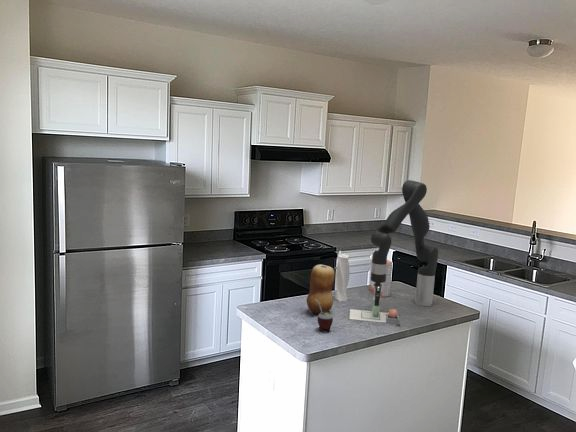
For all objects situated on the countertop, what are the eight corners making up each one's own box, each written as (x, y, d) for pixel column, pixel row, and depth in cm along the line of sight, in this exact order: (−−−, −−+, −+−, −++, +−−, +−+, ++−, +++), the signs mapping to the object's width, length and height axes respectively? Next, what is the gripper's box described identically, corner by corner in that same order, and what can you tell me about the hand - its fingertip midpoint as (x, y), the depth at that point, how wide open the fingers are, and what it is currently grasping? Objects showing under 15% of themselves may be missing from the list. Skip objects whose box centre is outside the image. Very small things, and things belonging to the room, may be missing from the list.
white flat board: (349, 310, 250) (349, 303, 250) (397, 314, 246) (397, 308, 246) (348, 320, 234) (348, 314, 234) (399, 326, 231) (400, 319, 230)
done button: (388, 314, 236) (388, 308, 235) (396, 315, 235) (397, 309, 235) (388, 317, 232) (389, 311, 232) (397, 317, 231) (397, 312, 231)
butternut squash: (330, 319, 235) (333, 270, 232) (303, 316, 238) (306, 267, 234) (333, 310, 249) (336, 263, 245) (308, 307, 251) (311, 261, 248)
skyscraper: (331, 299, 266) (334, 250, 262) (342, 298, 270) (345, 249, 265) (338, 303, 259) (341, 253, 255) (350, 302, 262) (353, 253, 258)
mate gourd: (335, 330, 222) (337, 299, 219) (324, 334, 216) (326, 303, 214) (322, 325, 227) (324, 295, 224) (311, 329, 221) (313, 298, 219)
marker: (371, 314, 243) (373, 294, 241) (379, 315, 242) (380, 295, 241) (371, 316, 239) (373, 297, 237) (379, 317, 238) (381, 297, 237)
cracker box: (368, 290, 287) (371, 256, 284) (377, 289, 289) (380, 256, 286) (381, 297, 274) (384, 262, 271) (390, 296, 276) (393, 261, 273)
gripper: (387, 276, 230) (384, 308, 232) (385, 268, 244) (383, 298, 246) (371, 275, 231) (369, 306, 234) (371, 267, 245) (368, 297, 247)
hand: (376, 302), depth 240 cm, fingers open, 8 cm apart
